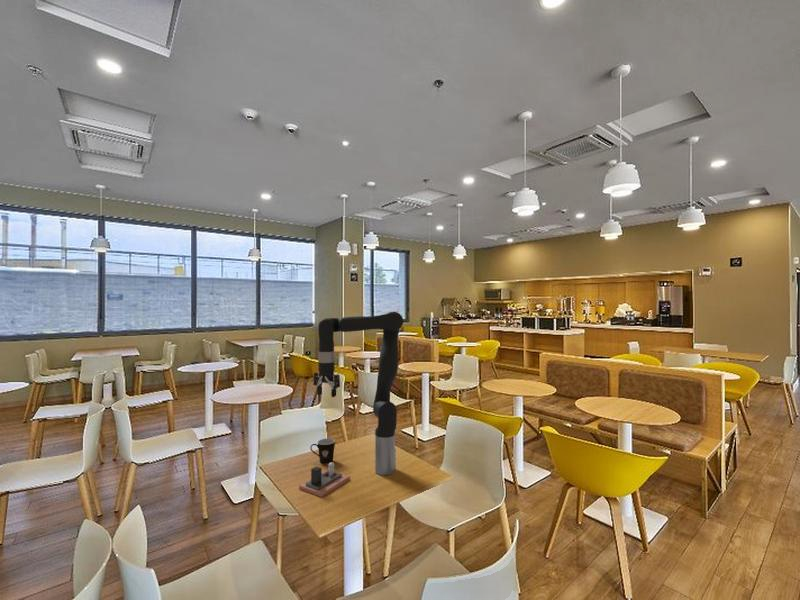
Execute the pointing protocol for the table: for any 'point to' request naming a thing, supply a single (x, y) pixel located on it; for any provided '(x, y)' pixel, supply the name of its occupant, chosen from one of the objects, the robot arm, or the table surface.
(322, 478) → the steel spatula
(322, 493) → the pink board with peg
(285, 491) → the table surface
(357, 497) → the table surface
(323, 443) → the coffee mug
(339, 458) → the table surface
